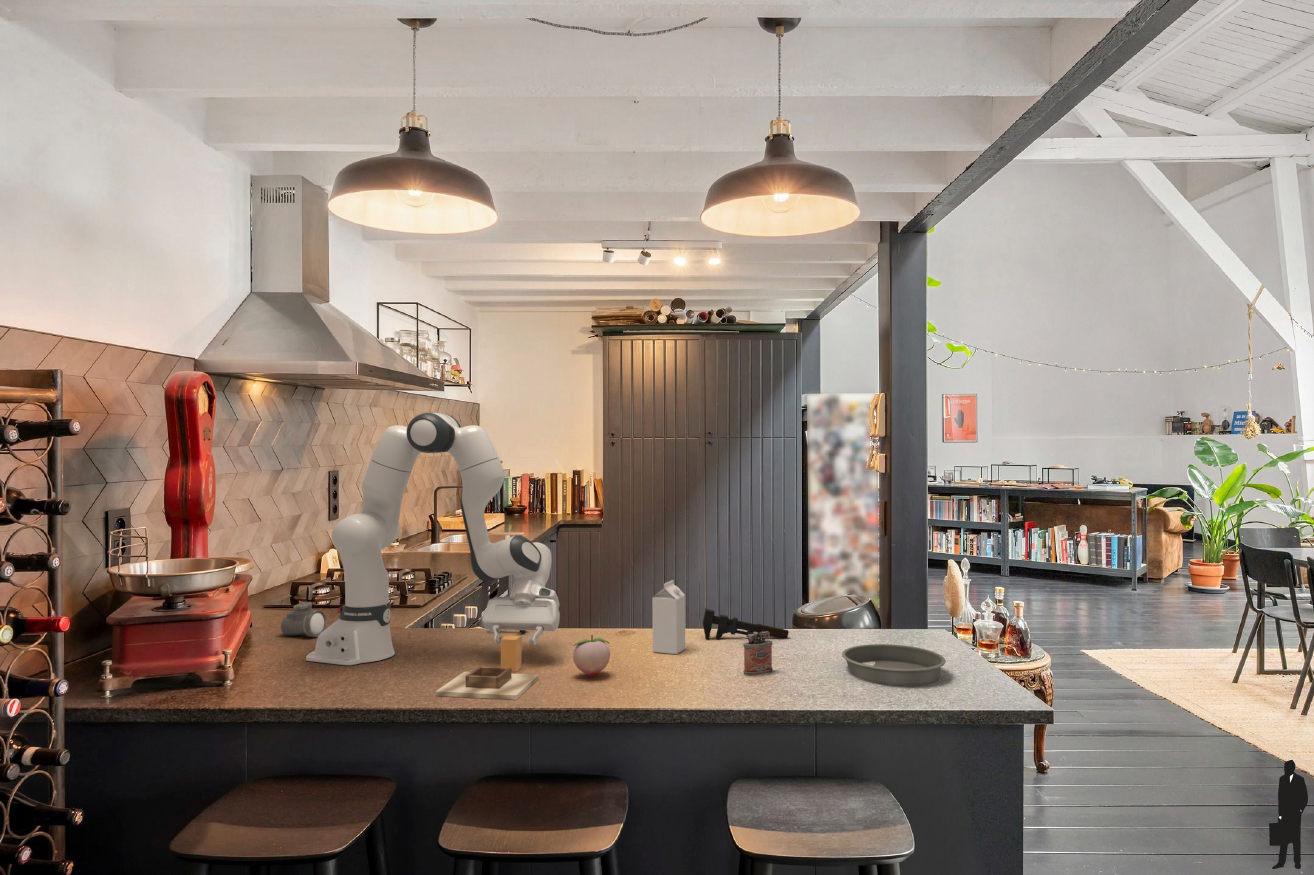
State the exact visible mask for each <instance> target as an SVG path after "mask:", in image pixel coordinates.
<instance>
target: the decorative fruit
mask: <svg viewBox="0 0 1314 875" xmlns="http://www.w3.org/2000/svg"><path fill="white" fill-rule="evenodd" d="M593 636H594V635H593V634H591V637H590V638H591V639H586V638H585V639H584V638H583V639H580V640H578V641H576V642H575V643H574V644H573V645H572V646H573V647H574V649H573V651H572V661H573V663H574V665H575V666H576V668H577V669H578V670H579V671H581V672H582V673H583V674H586V675H588V676H590V677H593V676H594V675H597V674H598V673H600V672H602V671H603V670H604V669H605V668H606V667H607V665H608V664H609V661H610V656H611V650H610V648H609V646H608V645H607V644H609V645H610V644H611V643H610V642H609V641H608V640H607V639H605V638H601V637H596V638H594V637H593ZM593 638H594V639H593Z"/></svg>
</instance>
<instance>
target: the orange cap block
mask: <svg viewBox="0 0 1314 875" xmlns="http://www.w3.org/2000/svg"><path fill="white" fill-rule="evenodd" d="M500 667H502V668H511V673H513V672H514V673H516V672H518V671H519V670H521V668H522V635H505V636H504V637H502V639H501V643H500Z"/></svg>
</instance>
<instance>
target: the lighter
mask: <svg viewBox="0 0 1314 875" xmlns="http://www.w3.org/2000/svg"><path fill="white" fill-rule="evenodd" d="M766 638H770V635H769V632H768V631H766V632H760V633H757V632H753V634H749V635H748V637H747V640H748V642H744V643H743V644H742V645H743V649H744V650H743V652H744V653H743V658H744V659H743V660H744V661H743V664H744V665H743V666H744V668H743V669H744V670H743V675H744V676H747V677H753V676H762V675H766V674H767V675H768V674H771V673H773V671H774V670H773V662H772V660H773V654H772V653H773V648H772V647H773V641H772V640H770V639H766Z"/></svg>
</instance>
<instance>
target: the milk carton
mask: <svg viewBox="0 0 1314 875" xmlns="http://www.w3.org/2000/svg"><path fill="white" fill-rule="evenodd" d="M651 599H652V601H651V602H652V605H651V606H652V652H653V653H660V654H661V653H662V654H671V655H678V654H679V653H680V652H682V651H684V650H685V649H686V594H685V593H684V592H683V591H682V590H681V589H680V588H679V587H678V586H677V585H675V581H674V579H672V580H670V581H667V582H665V583H663V588H662V589H661V590H660V591H658V592H657V593H656V594H655V595H653V597H652V598H651Z"/></svg>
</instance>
